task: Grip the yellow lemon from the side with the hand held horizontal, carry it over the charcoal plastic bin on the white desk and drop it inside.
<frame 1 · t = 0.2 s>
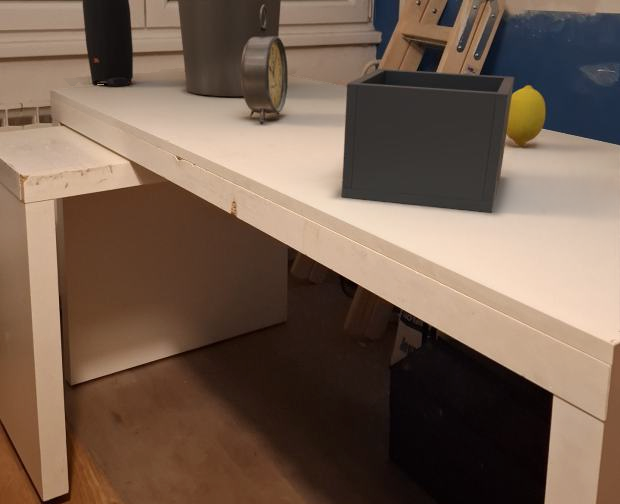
bin: (425, 187, 81), on the table
portable speaker: (112, 85, 148), on the table
alarm clock: (263, 120, 117), on the table
lemon: (519, 147, 104), on the table
waste basket: (230, 92, 144), on the table
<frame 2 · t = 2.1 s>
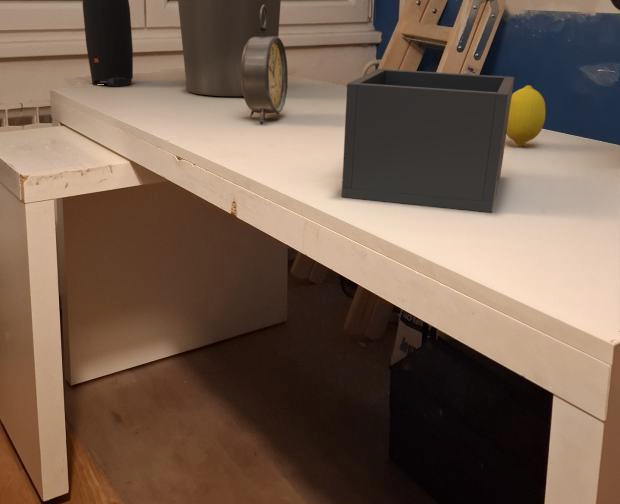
nothing on the table moved.
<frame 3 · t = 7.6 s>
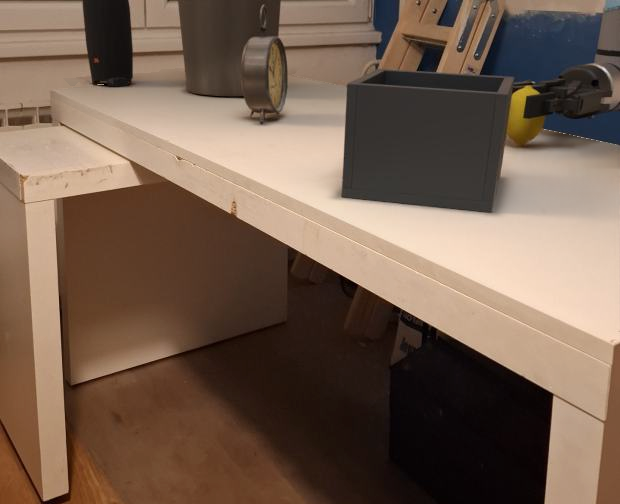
hand: (506, 104, 98), 6 cm above the table, tool horizontal, fingers closed on lemon, 5 cm apart
lemon: (519, 147, 104), on the table, touching gripper
everything else where it was.
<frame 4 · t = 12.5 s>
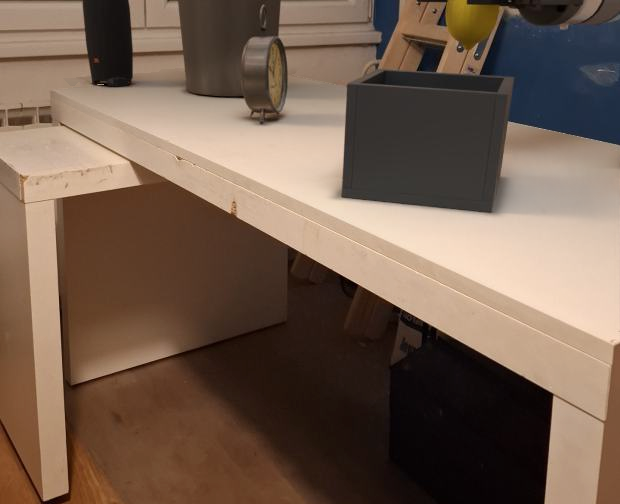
lemon: (467, 52, 82), point 13 cm above the table, touching gripper
everything else where it was.
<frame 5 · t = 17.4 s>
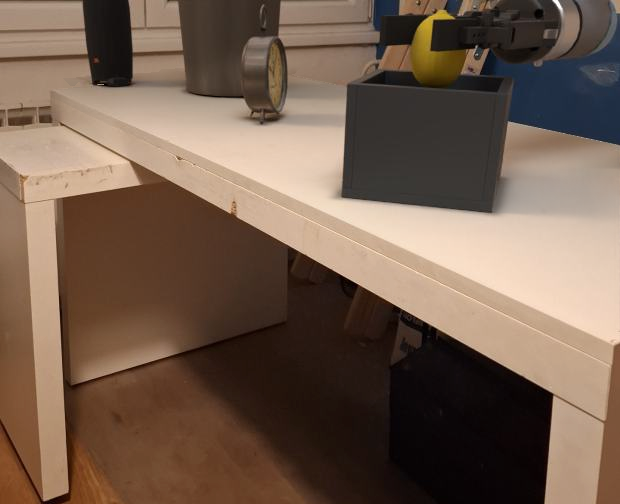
hand: (408, 33, 71), 16 cm above the table, tool horizontal, fingers closed on lemon, 5 cm apart
lemon: (433, 96, 77), point 9 cm above the table, touching gripper
everything else where it was.
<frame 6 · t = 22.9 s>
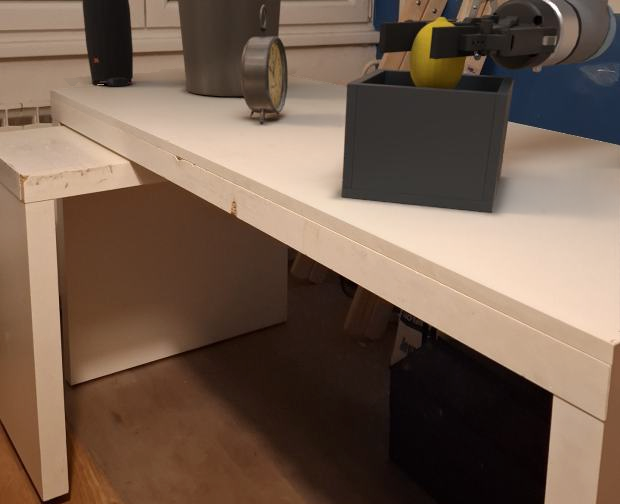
hand: (407, 40, 72), 15 cm above the table, tool horizontal, fingers closed on lemon, 5 cm apart
lemon: (433, 103, 78), point 9 cm above the table, touching gripper
everything else where it was.
when the fingers open (16 cm above the table, at t = 27.7 s): lemon drops 8 cm, resting on bin.
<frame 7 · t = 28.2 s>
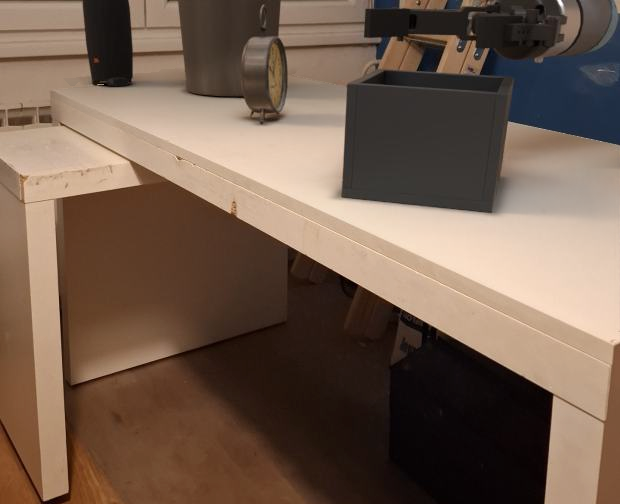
hand: (420, 27, 72), 16 cm above the table, tool horizontal, fingers open, 13 cm apart
lemon: (431, 170, 80), point 2 cm above the table, touching bin
everything else where it was.
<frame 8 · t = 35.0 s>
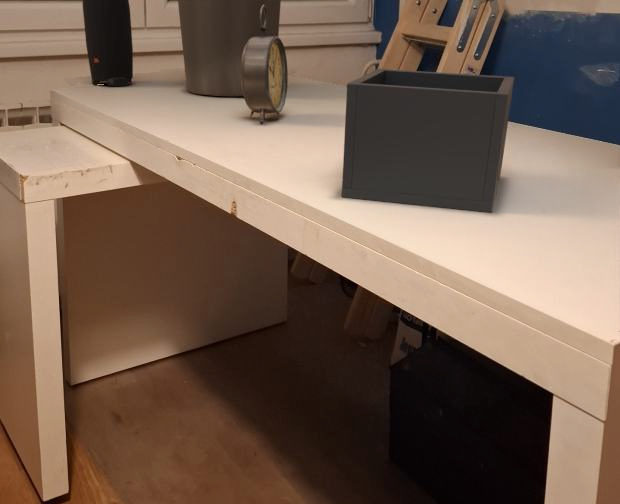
nothing on the table moved.
at the end: lemon inside the target area in the bin (0.6 cm from its centre), point 2.0 cm above the bin's base; the gripper is holding nothing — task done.
